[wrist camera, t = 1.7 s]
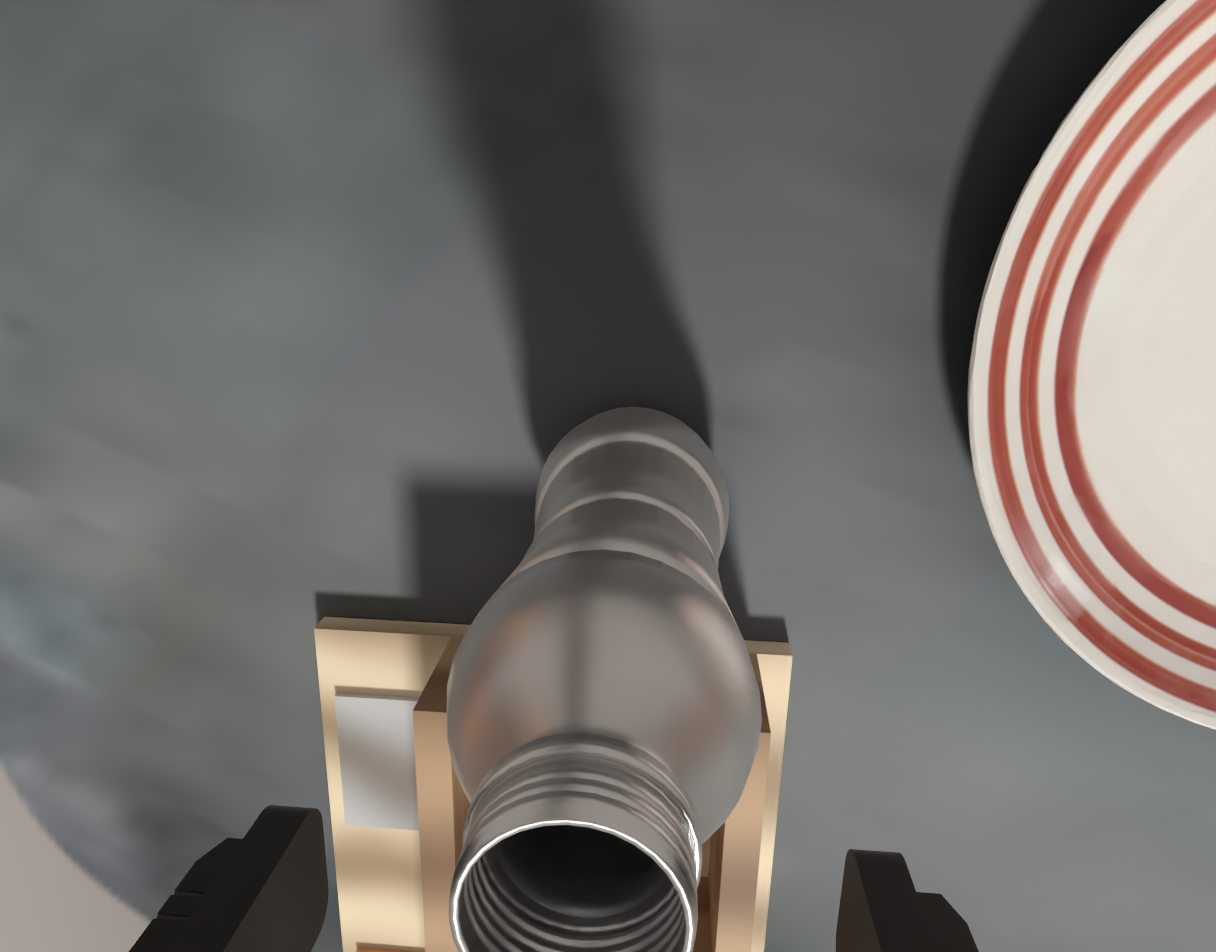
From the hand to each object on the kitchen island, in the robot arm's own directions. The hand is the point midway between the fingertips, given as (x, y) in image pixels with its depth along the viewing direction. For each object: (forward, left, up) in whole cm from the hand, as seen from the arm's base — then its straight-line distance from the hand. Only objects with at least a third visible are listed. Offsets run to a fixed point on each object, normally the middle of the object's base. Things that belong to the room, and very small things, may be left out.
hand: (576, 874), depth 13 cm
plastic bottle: (0, 0, -19) cm, 19 cm away
